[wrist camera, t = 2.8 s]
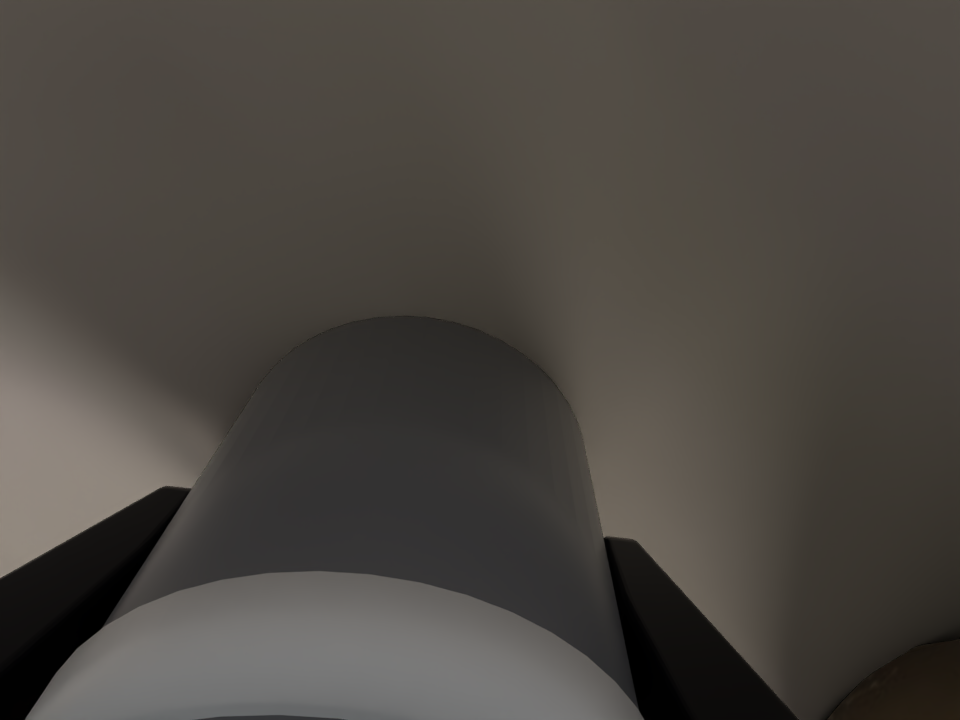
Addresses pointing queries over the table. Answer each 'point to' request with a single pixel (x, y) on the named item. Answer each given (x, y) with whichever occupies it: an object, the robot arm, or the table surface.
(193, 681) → the lens
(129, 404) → the table surface
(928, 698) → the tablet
